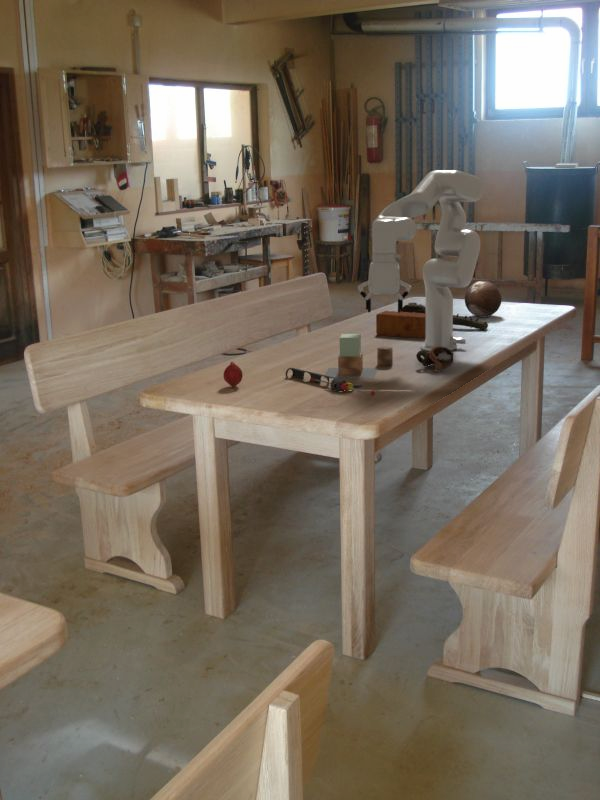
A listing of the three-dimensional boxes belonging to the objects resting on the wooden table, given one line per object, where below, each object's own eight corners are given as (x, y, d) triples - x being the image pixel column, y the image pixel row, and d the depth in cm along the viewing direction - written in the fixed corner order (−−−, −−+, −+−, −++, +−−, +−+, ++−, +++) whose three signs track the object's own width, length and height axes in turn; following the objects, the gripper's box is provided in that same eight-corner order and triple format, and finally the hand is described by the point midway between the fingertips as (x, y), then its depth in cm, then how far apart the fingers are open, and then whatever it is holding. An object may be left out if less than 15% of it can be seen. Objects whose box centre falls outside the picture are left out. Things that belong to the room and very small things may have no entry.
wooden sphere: (458, 318, 388) (459, 282, 384) (472, 312, 400) (473, 277, 396) (493, 321, 380) (494, 284, 376) (506, 315, 392) (507, 279, 388)
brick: (423, 316, 348) (423, 339, 350) (432, 312, 355) (432, 334, 357) (375, 313, 357) (375, 335, 360) (384, 309, 364) (385, 331, 367)
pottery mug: (449, 366, 309) (456, 347, 303) (448, 384, 302) (455, 365, 296) (413, 357, 308) (420, 338, 303) (411, 375, 302) (418, 356, 296)
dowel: (393, 364, 311) (393, 346, 309) (392, 367, 306) (392, 349, 305) (377, 364, 312) (377, 346, 310) (376, 367, 307) (376, 349, 305)
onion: (226, 384, 290) (224, 359, 288) (244, 384, 290) (243, 359, 288) (222, 389, 285) (221, 363, 283) (241, 389, 284) (240, 363, 282)
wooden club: (488, 329, 365) (489, 304, 362) (485, 332, 360) (486, 306, 358) (392, 325, 379) (391, 300, 377) (388, 327, 375) (388, 302, 372)
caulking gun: (307, 367, 300) (283, 367, 294) (391, 387, 273) (367, 386, 267) (306, 380, 301) (282, 379, 294) (389, 400, 274) (365, 400, 267)
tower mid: (360, 352, 300) (360, 334, 298) (359, 356, 294) (358, 337, 292) (342, 352, 301) (341, 333, 299) (339, 356, 295) (339, 337, 293)
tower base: (362, 370, 302) (362, 352, 300) (360, 375, 295) (360, 357, 293) (341, 370, 303) (340, 352, 301) (338, 375, 296) (338, 356, 295)
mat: (377, 369, 304) (377, 368, 304) (374, 379, 291) (374, 378, 291) (328, 368, 307) (328, 367, 307) (322, 379, 294) (322, 377, 294)
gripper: (412, 257, 302) (411, 310, 306) (358, 257, 305) (358, 309, 309) (411, 259, 295) (410, 313, 299) (356, 260, 298) (356, 313, 302)
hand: (384, 311), depth 304 cm, fingers open, 9 cm apart
